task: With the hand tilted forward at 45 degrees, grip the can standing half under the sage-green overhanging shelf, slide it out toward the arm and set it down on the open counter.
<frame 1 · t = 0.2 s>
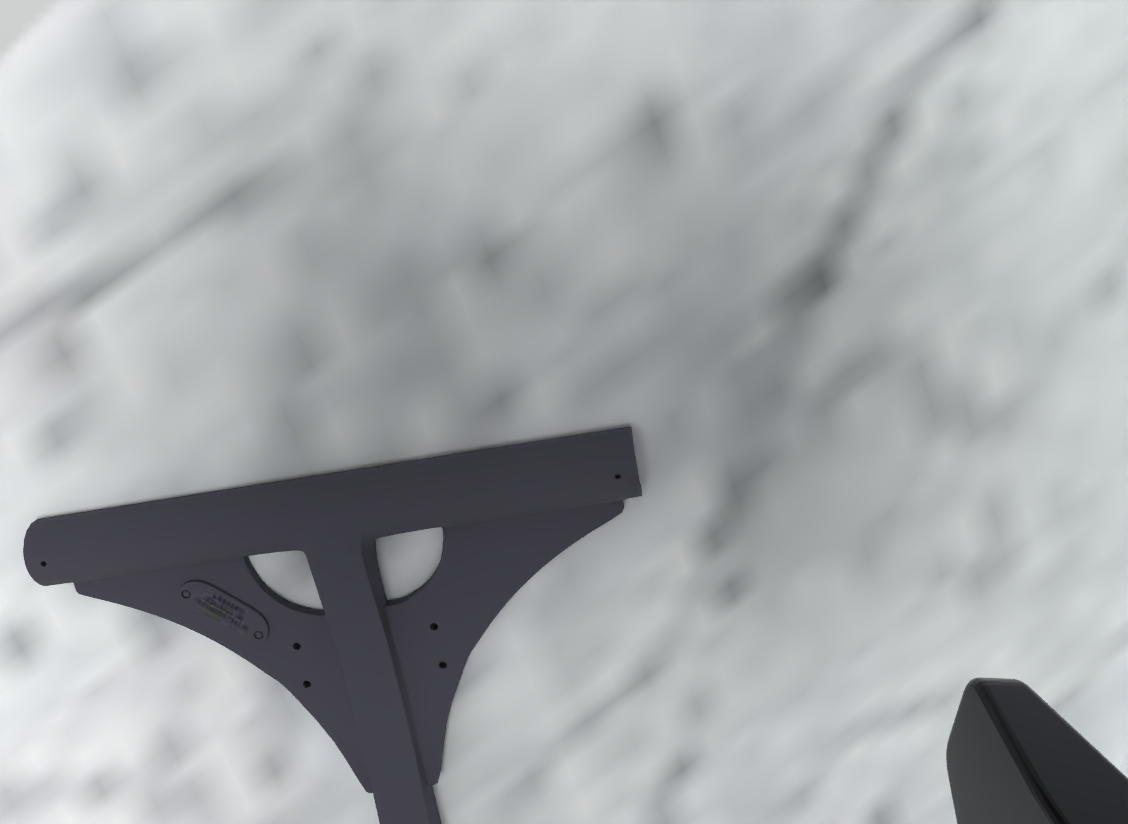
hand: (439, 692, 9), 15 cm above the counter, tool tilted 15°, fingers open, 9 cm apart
bracket: (397, 722, 28), on the counter
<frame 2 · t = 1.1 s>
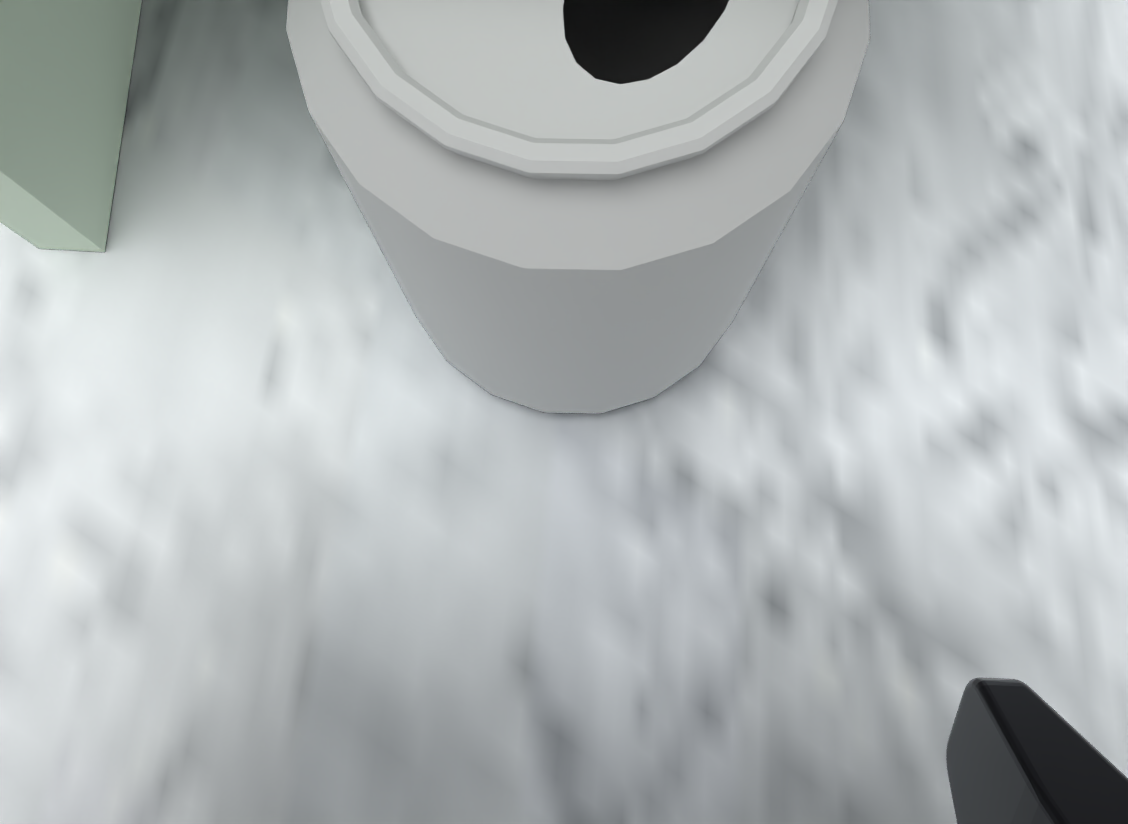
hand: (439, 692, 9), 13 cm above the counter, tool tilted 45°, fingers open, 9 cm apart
can: (575, 260, 24), on the counter
shelf: (587, 60, 25), on the counter
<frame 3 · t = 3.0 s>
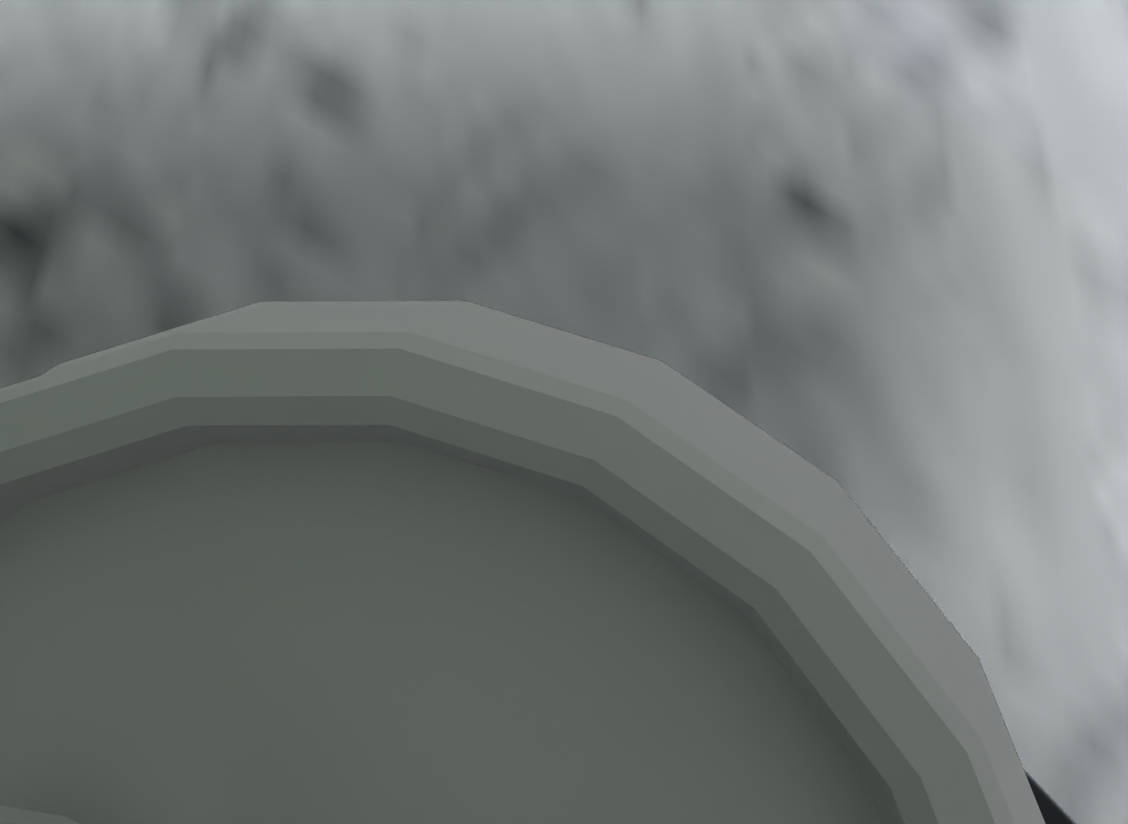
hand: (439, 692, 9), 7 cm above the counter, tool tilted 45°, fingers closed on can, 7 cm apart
can: (489, 770, 16), on the counter, touching gripper
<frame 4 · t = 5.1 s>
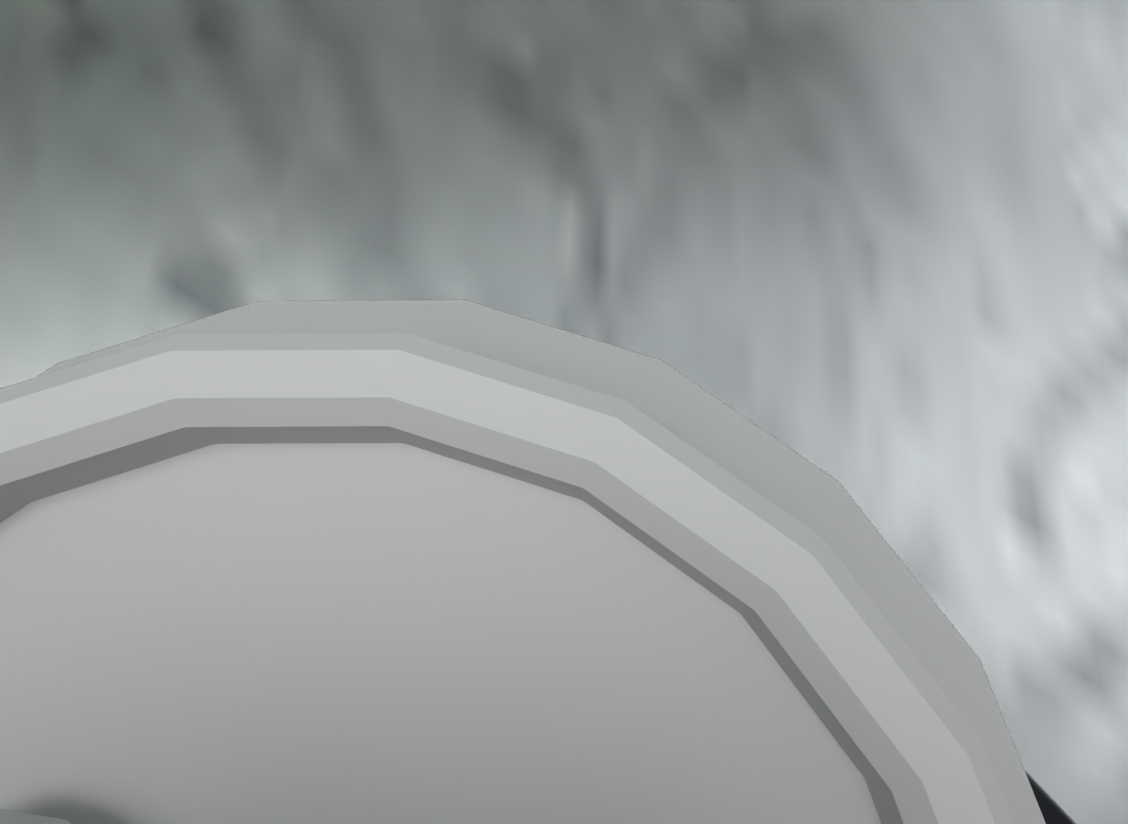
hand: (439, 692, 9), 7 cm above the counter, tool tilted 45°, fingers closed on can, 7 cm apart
can: (490, 767, 16), on the counter, touching gripper
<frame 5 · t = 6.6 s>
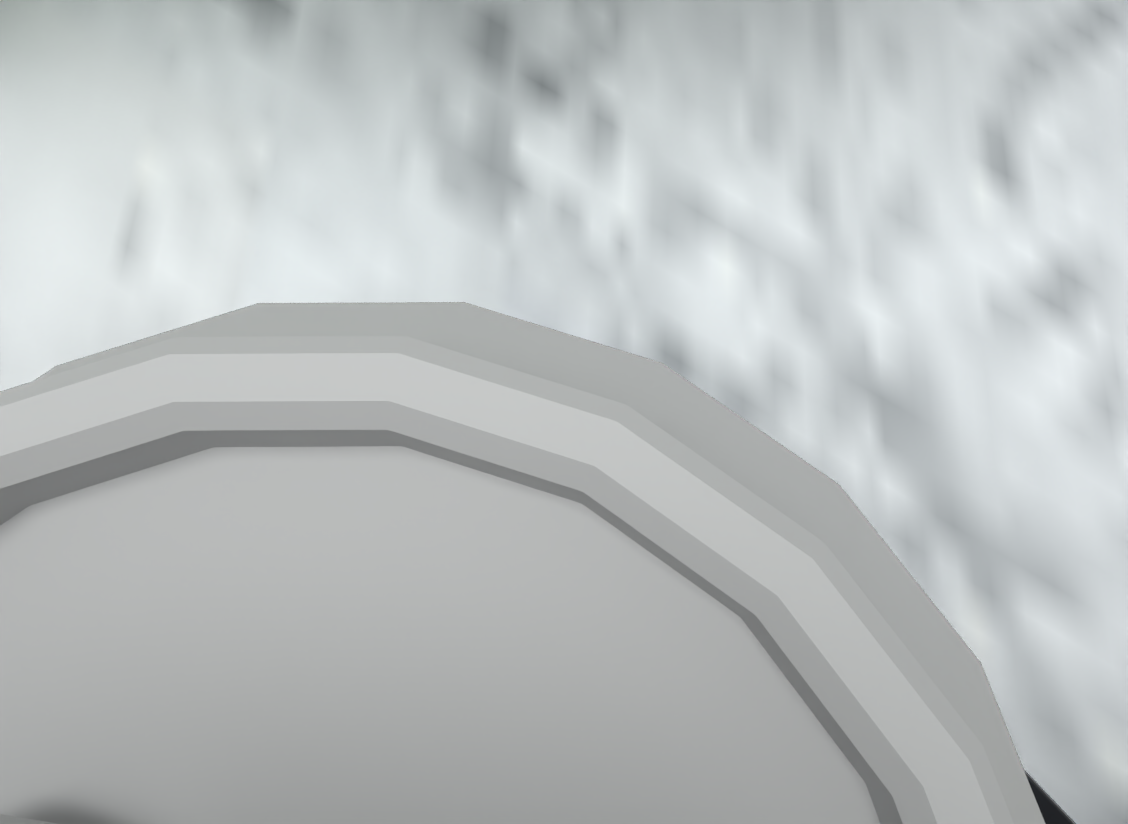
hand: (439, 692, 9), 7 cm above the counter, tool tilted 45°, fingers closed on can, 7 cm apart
can: (490, 768, 15), on the counter, touching gripper
when the fingers open (7 cm above the counter, at t = 7.4 s): can stays where it is, on the counter.
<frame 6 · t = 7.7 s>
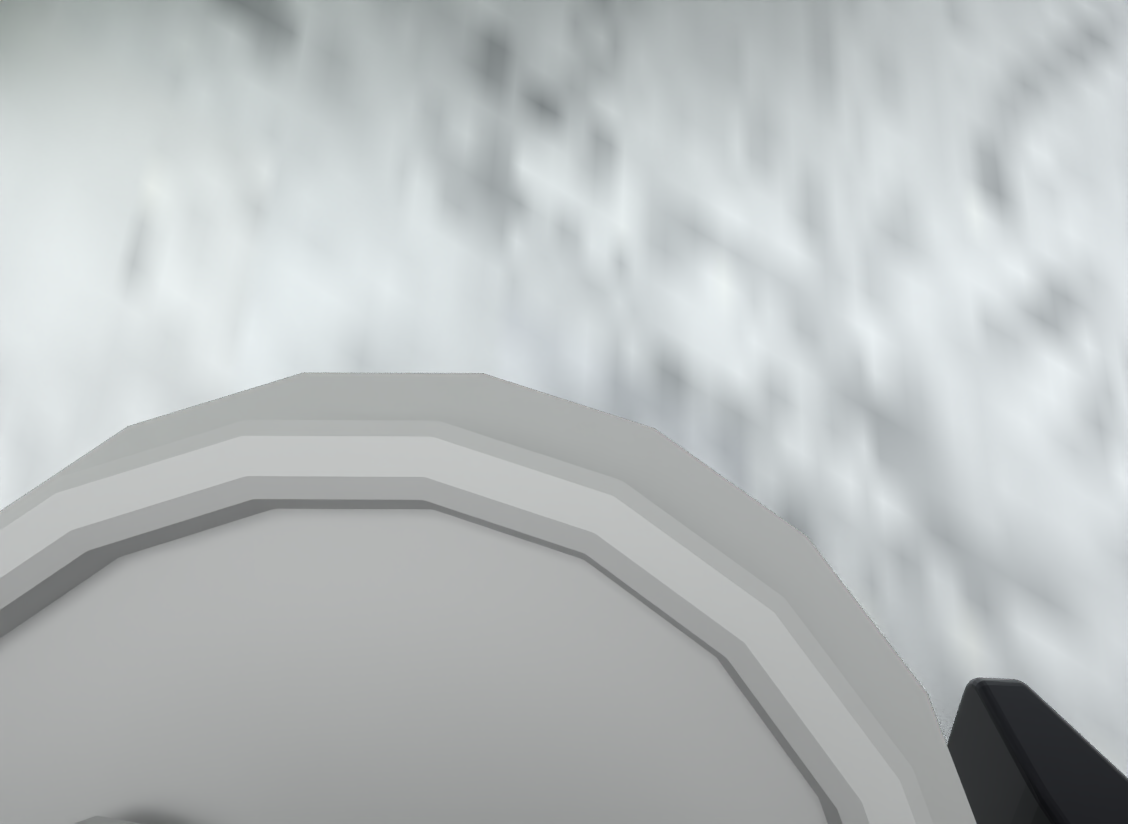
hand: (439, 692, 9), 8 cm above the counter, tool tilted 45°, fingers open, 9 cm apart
can: (494, 774, 16), on the counter
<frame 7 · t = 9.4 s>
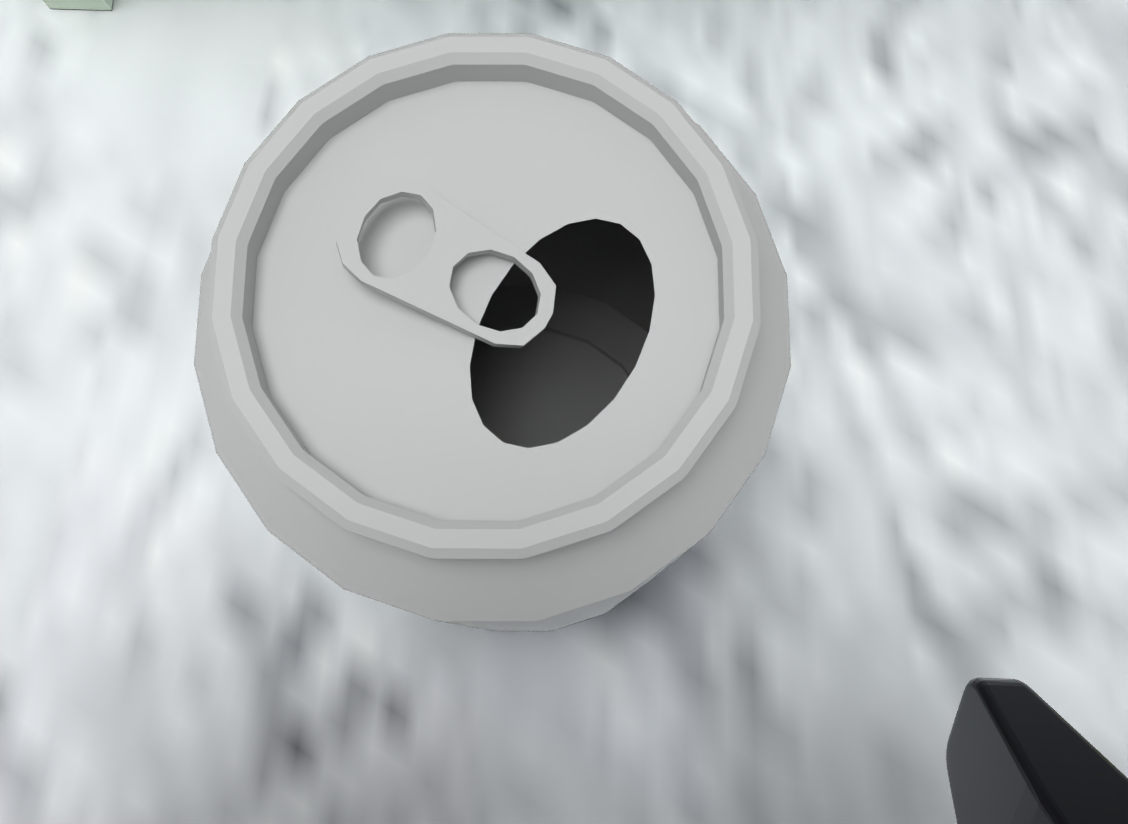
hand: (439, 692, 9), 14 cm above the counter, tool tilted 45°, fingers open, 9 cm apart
can: (526, 461, 24), on the counter
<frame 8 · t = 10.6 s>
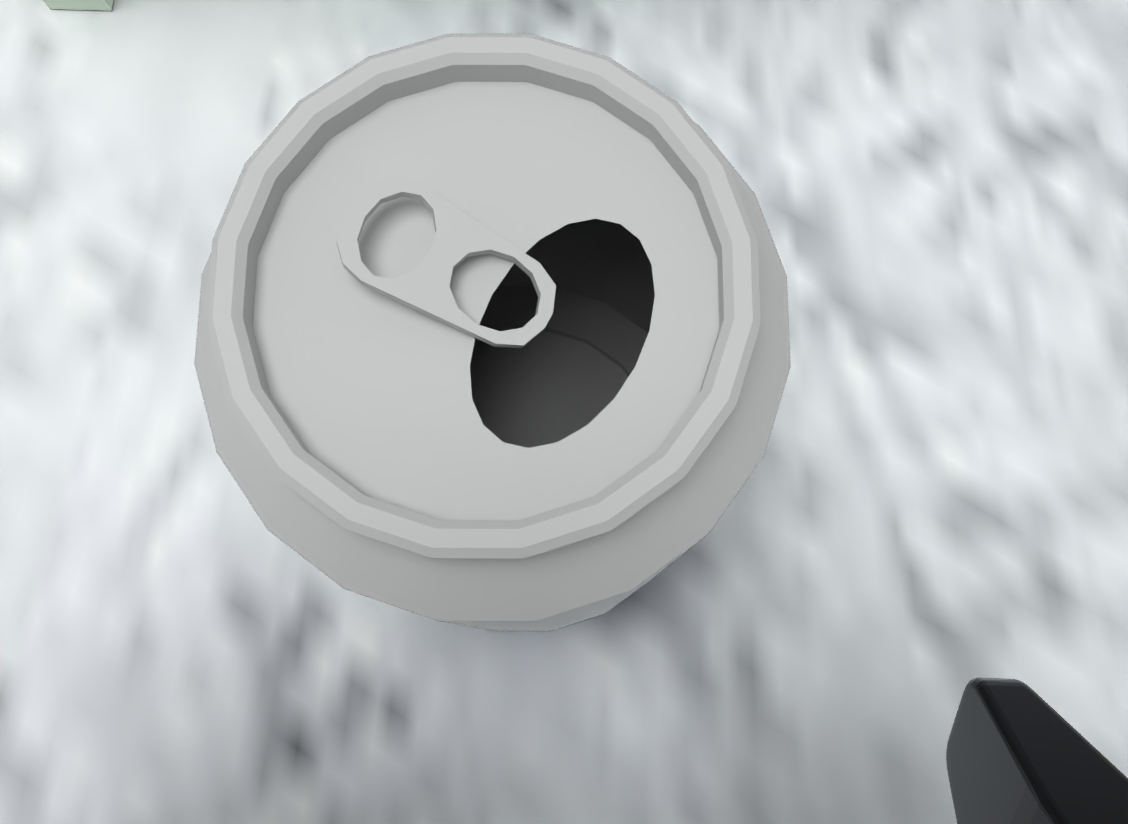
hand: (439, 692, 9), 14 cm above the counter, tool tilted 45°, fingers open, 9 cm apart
can: (526, 461, 24), on the counter
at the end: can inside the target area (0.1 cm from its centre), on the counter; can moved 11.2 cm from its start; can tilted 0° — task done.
